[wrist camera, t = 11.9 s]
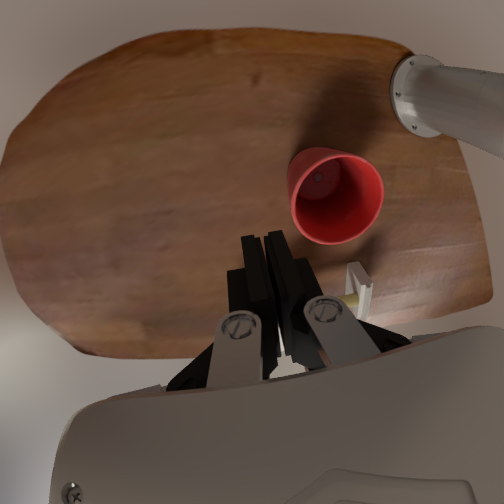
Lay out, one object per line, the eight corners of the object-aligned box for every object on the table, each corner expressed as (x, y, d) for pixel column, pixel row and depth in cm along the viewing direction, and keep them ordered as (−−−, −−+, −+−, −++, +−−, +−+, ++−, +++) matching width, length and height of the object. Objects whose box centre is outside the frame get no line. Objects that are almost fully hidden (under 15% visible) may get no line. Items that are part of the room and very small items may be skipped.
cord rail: (358, 260, 47) (381, 295, 39) (355, 293, 51) (374, 328, 43) (230, 283, 47) (234, 324, 39) (238, 315, 50) (242, 356, 43)
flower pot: (354, 202, 41) (385, 234, 33) (281, 217, 42) (298, 254, 33) (348, 131, 36) (383, 147, 28) (268, 144, 36) (283, 164, 28)
